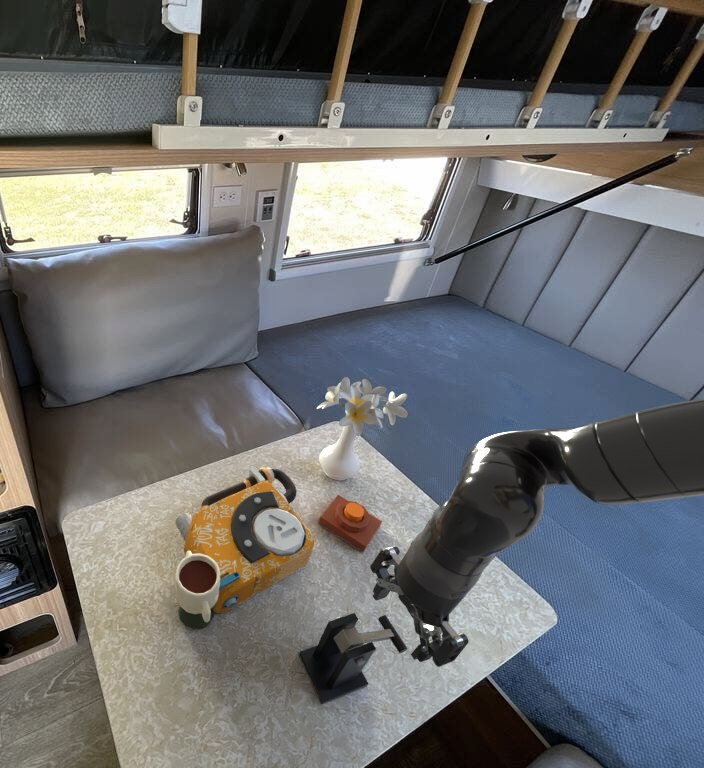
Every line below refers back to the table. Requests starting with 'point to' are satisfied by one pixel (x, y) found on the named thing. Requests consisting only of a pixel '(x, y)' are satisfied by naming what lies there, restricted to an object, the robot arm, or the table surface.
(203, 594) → the character mug
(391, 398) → the flower vase
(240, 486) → the device
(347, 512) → the button
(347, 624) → the bracket
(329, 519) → the block
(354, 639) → the lever
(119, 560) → the table surface
